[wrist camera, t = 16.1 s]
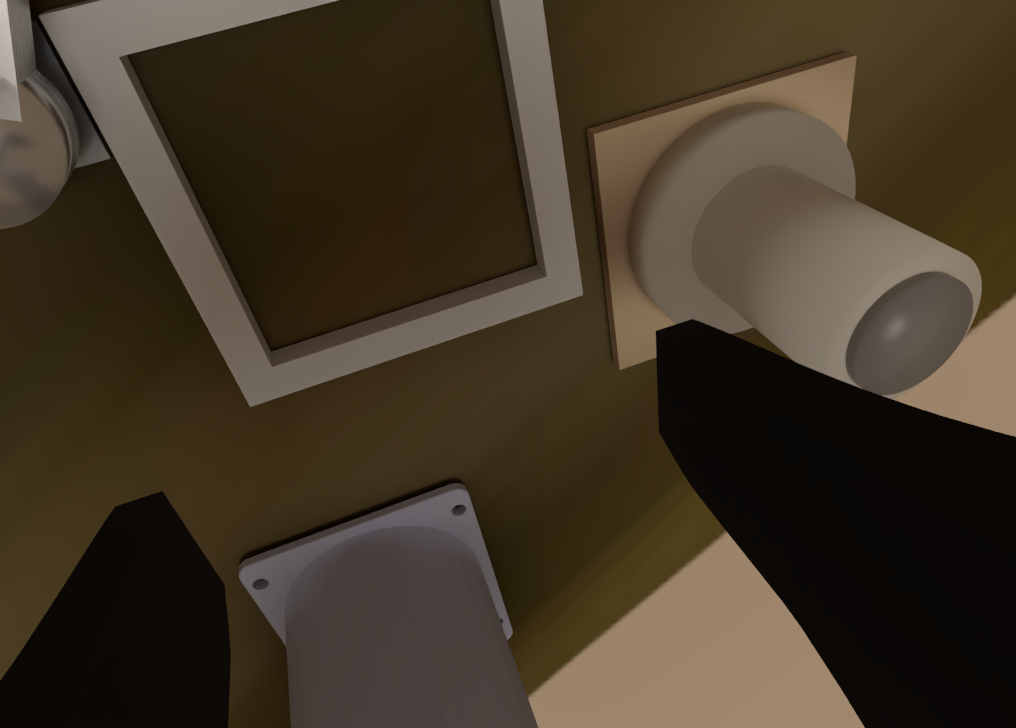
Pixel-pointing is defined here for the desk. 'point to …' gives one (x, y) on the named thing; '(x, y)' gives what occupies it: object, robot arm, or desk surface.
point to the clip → (30, 125)
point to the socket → (189, 238)
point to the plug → (796, 252)
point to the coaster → (638, 146)
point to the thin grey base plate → (69, 97)
